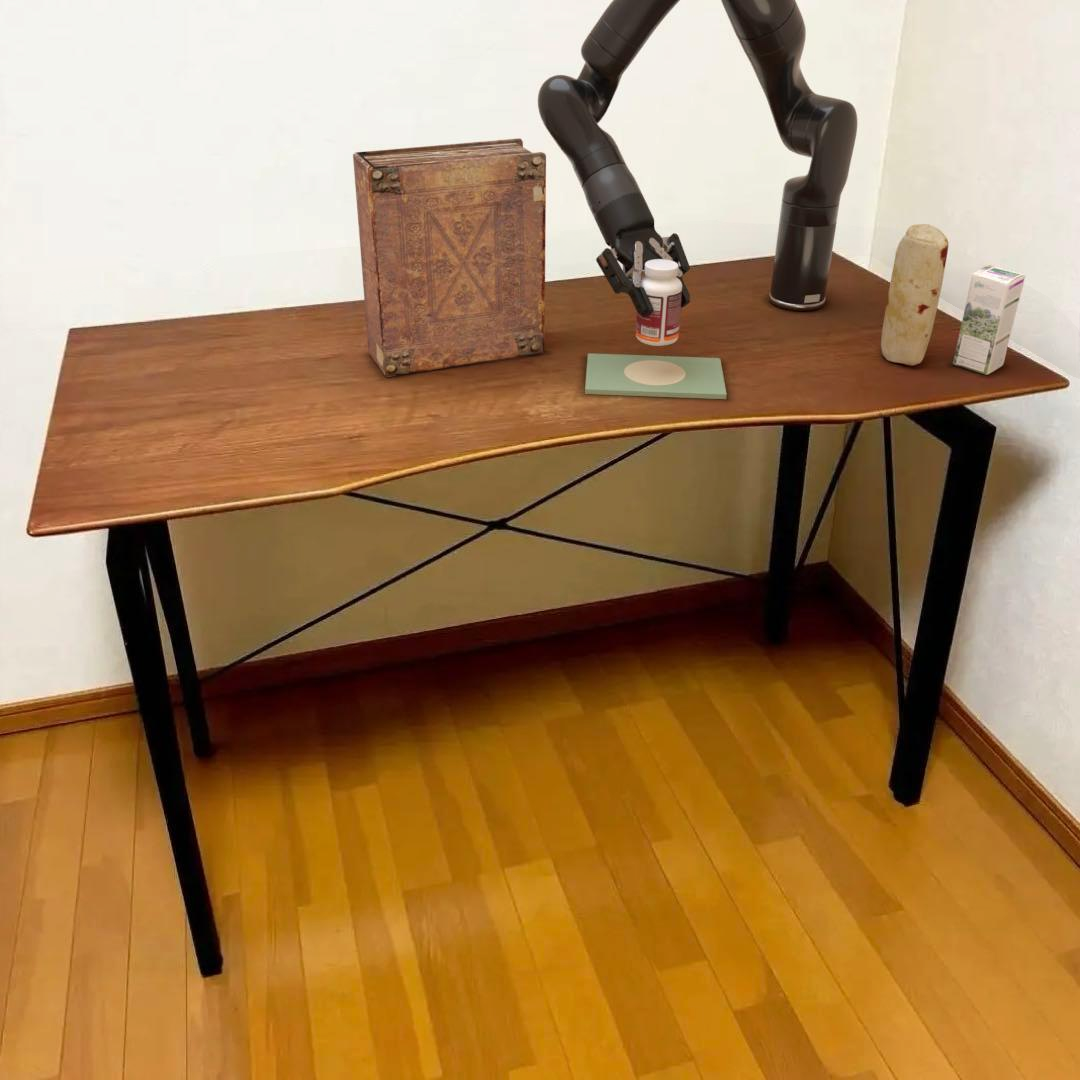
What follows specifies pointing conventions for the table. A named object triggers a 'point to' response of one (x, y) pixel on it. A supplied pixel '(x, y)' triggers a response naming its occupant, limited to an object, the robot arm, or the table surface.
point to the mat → (655, 376)
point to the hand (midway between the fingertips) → (666, 309)
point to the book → (452, 253)
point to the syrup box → (988, 319)
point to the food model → (914, 294)
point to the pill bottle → (660, 303)
